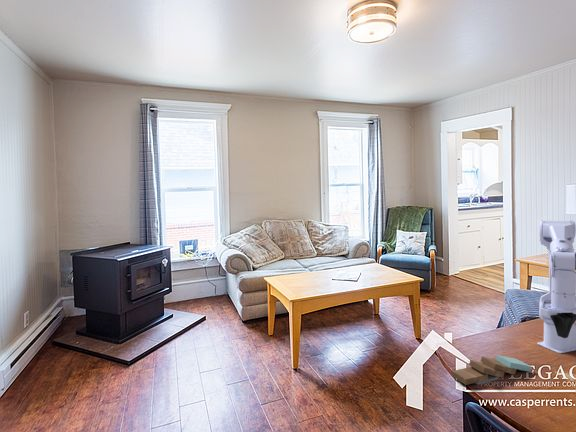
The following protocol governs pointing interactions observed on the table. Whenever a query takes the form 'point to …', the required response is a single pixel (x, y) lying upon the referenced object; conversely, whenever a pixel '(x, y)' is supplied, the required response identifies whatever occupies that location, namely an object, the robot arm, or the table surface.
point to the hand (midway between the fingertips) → (562, 336)
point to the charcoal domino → (490, 378)
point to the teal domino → (513, 363)
